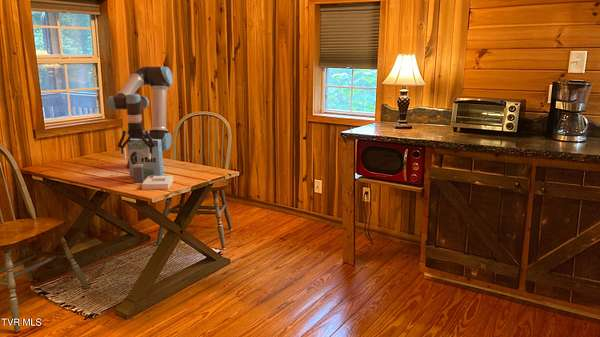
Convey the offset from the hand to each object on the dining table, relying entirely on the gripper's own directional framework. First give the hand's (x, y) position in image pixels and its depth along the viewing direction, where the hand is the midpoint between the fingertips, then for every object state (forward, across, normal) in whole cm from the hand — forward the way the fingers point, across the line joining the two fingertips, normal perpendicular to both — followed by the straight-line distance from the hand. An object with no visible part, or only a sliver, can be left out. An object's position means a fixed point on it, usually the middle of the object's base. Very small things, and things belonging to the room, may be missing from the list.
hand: (137, 159), depth 278 cm
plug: (+13, 0, +1) cm, 13 cm away
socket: (+13, +12, -7) cm, 20 cm away
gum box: (+13, +2, +12) cm, 18 cm away
